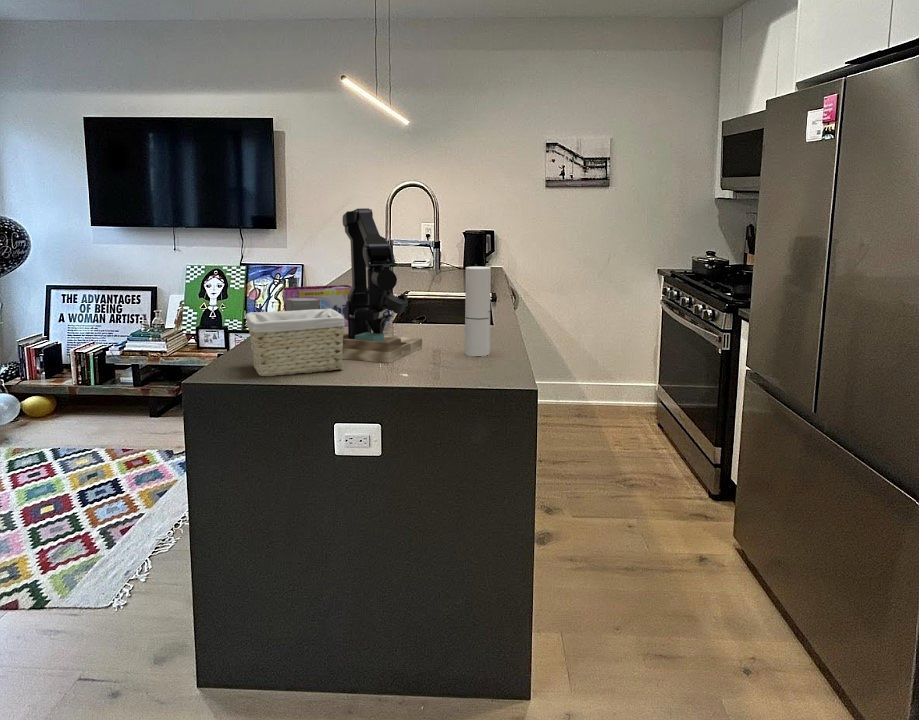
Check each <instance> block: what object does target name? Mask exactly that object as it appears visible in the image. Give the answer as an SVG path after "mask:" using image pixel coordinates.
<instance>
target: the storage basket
mask: <svg viewBox="0 0 919 720" xmlns="http://www.w3.org/2000/svg"><path fill="white" fill-rule="evenodd" d="M245 317H246V321H245V322H246V327H247V328H248V331H249V332H248V333H249V336H250V337H249V341H250V344H251V345H250V348H251V352H252V359H253V360H252V361H253V367H254V369H255V371H256V373H257V374H258V375H259V376H260V377H274V376H286V375H288V376H289V375H295V374H312V372H313V373H317V372H326V371H336V370H342V368H343V359H342V348H343V334H344V330H345V329H344V328H345V327H344V325H345V323H344V317H343V316H342V315H341V314H340V313H338V312H337V311H335V310H332V309H330V308H328V309H315V310H298V311H284V310H281V311H279V310H278V311H259V312H255V311H254V312H253V311H250V312H247V313H246V314H245Z"/></svg>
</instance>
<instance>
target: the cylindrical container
mask: <svg viewBox="0 0 919 720" xmlns="http://www.w3.org/2000/svg"><path fill="white" fill-rule="evenodd" d="M491 273H492V267H490V266H466V267H465V286H464V287H465V292H464V293H465V294H464V295H465V297H464V298H465V300H464V301H465V303H464V304H465V305H464V307H465V308H464V309H465V310H464V311H465V312H464V313H465V314H464V315H465V316H464V320H465V321H464V330H465V331H464V354H465V356H467V355H468V357H474V356H481V357H488V356H489V354H490V353H491V352H490V351H491V350H490V348H491V344H490V343H491V289H492V288H491V285H492V284H491V283H492V282H491V280H492V279H491V277H492V274H491ZM487 355H488V356H487Z"/></svg>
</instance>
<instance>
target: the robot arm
mask: <svg viewBox="0 0 919 720" xmlns="http://www.w3.org/2000/svg"><path fill="white" fill-rule="evenodd" d="M373 214H374V213H373V210H372V209H370V208H368V207H367V208H355V209H354V210H351V211H350V210H348V211H346V212H345V213H344V214H343V215H342V226H343V227H344V232H345V234H346V236H347V237H348V239H349V240H350V259H351V261H350V262H351V264H350V266H351V287H352V289H351V290H350V292H349V294H348V301H347V302H346V306H345V310H344V318H345V319H346V320H347V321H348V327H347V332H348V333H347V334H348V338H349V339H355V335H358V334H362V333H365V332H369V333H380V334H384V329H385V327H386V322H387V321H388V320H389V319H390V318H392V317H393V314H389V312H388V311H392V312H393V313H394V314H397V315H400V314H401V313H405V311H406V307H408V306H409V300H408V296H407V295H406V294H404V293H402V294H400V295H393V294H392V289H394V288H395V287H396V285H397V282H398V277H397V275H396V273H395V272H394V271H393V270H391V268H392V267H393V268H395V265H396V260H395V255H394V251H393V249H392V247H391V245H390V244H389V242H388V240H387V239H386V238H385V237H383V236H382V235H380V233H379V229H378V227H377V225H376V223H375V219H374V215H373ZM350 315H351V316H350Z"/></svg>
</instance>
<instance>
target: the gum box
mask: <svg viewBox="0 0 919 720" xmlns="http://www.w3.org/2000/svg"><path fill="white" fill-rule="evenodd" d="M351 289H352V285H349V284H337V285H335V284H334V285H313V286H312V285H311V286H309V285H308V286H307V285H306V286H286V287H285V286H284V287H283V288H282V292H281V293H282V294H281V299H282V301H283V311H287V309H286V299H291V298H314V299H318V300H319V309H328V308H330V309H332V310H335V311H337V312H338V313H340V314H341V315H342V316H343V317H344V310H345V306H346V302H347V301H348V294H349V292H350V290H351ZM350 316H351V315H350ZM344 323H345V325H344V327H343V328H345V327H347V328H348V321H347V320H346V319H345V318H344Z"/></svg>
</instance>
